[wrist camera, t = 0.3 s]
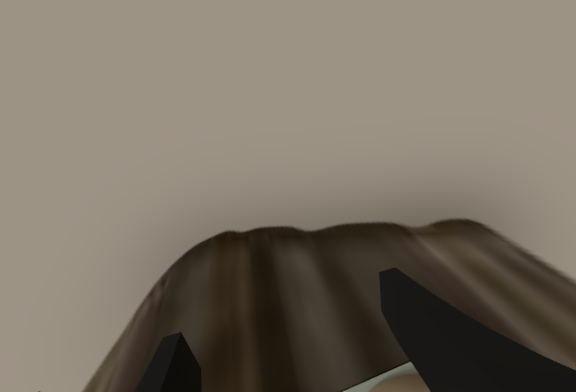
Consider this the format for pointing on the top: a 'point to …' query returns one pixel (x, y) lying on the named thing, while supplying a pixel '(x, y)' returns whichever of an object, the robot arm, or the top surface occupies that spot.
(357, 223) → the top surface
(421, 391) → the lid
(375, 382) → the mat
